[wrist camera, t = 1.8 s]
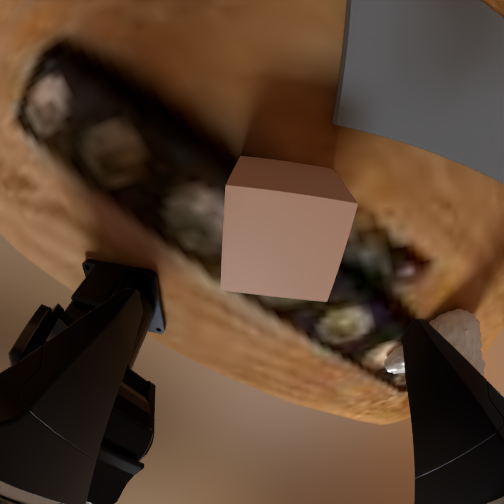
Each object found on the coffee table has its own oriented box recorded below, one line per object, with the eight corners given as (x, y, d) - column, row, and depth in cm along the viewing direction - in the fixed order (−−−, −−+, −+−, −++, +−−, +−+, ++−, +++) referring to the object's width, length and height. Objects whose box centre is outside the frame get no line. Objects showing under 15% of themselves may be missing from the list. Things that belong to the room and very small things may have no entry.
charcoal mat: (504, 183, 12) (512, 188, 11) (332, 123, 12) (336, 124, 12) (521, 42, 6) (530, 42, 5) (349, -55, 6) (353, -62, 5)
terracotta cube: (315, 246, 17) (326, 301, 12) (234, 236, 17) (220, 289, 12) (332, 168, 14) (358, 203, 10) (240, 155, 14) (225, 185, 10)
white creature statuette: (378, 360, 23) (401, 474, 13) (424, 294, 18) (480, 429, 8) (444, 359, 23) (473, 449, 13) (488, 302, 18) (538, 400, 8)
